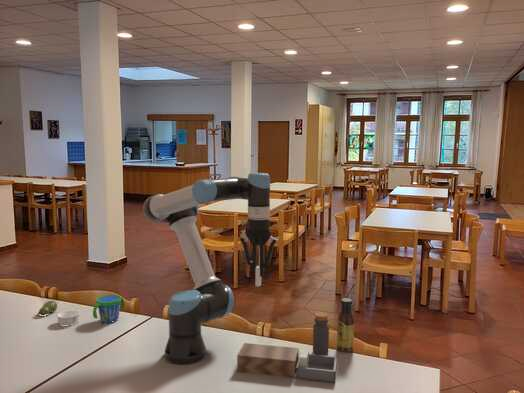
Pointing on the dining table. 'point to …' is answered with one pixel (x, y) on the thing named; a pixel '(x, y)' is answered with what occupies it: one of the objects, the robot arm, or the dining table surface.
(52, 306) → the pear
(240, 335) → the dining table surface
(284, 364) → the brown wooden block
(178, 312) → the robot arm
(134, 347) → the dining table surface
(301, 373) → the box
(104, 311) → the snack cup
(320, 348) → the bottle
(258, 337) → the dining table surface
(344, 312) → the sauce bottle
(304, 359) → the tile
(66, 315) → the ramekin
